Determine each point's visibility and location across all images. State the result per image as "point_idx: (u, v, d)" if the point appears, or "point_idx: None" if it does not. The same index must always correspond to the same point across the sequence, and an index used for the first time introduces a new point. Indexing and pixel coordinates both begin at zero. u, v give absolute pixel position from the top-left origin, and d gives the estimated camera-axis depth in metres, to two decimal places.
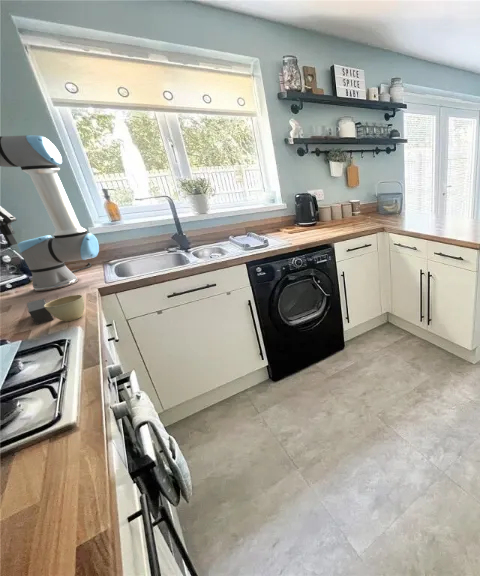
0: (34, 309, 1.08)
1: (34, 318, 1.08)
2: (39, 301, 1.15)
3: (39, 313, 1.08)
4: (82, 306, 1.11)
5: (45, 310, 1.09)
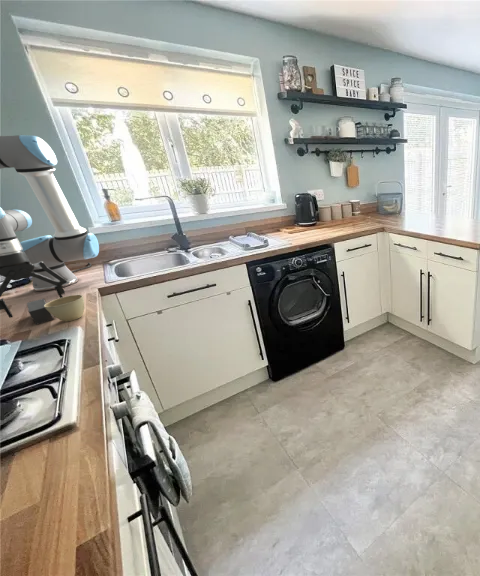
0: (34, 309, 1.08)
1: (34, 318, 1.08)
2: (39, 301, 1.15)
3: (39, 313, 1.08)
4: (82, 306, 1.11)
5: (45, 310, 1.09)
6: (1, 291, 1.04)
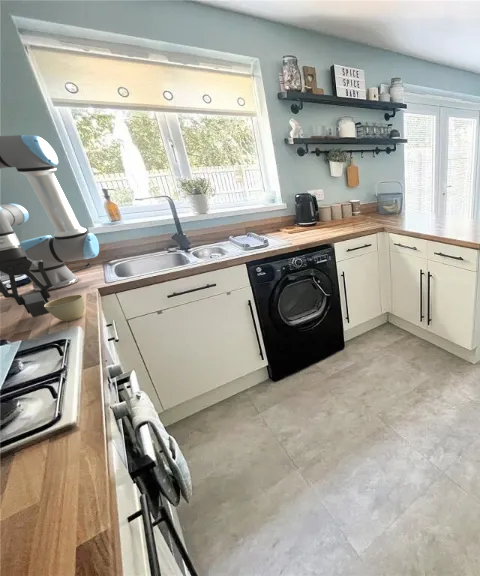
0: (31, 302, 1.07)
1: (31, 311, 1.07)
2: (36, 294, 1.14)
3: (36, 307, 1.08)
4: (82, 306, 1.11)
5: (42, 303, 1.09)
6: (14, 287, 1.07)
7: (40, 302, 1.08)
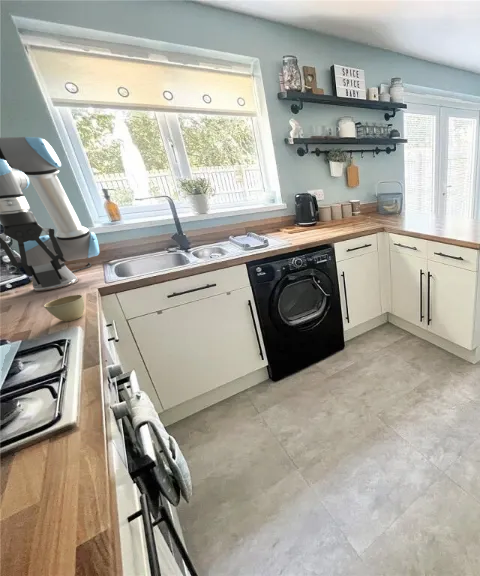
0: (41, 271, 1.00)
1: (41, 281, 0.99)
2: (46, 265, 1.07)
3: (46, 276, 1.00)
4: (82, 306, 1.11)
5: (52, 273, 1.01)
6: (23, 255, 0.99)
7: (51, 271, 1.01)
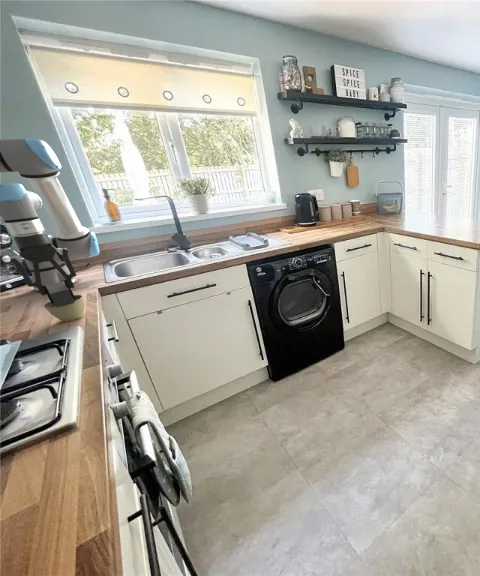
0: (55, 291, 1.02)
1: (55, 301, 1.02)
2: (59, 284, 1.09)
3: (60, 296, 1.02)
4: (82, 306, 1.11)
5: (66, 292, 1.03)
6: (38, 275, 1.02)
7: (64, 291, 1.03)
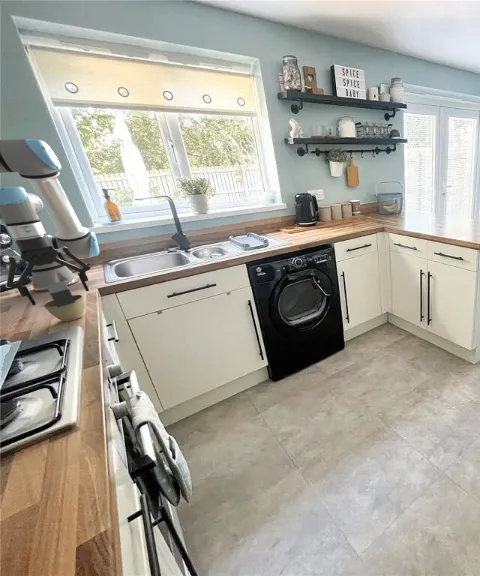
0: (55, 291, 1.02)
1: (55, 300, 1.02)
2: (59, 284, 1.09)
3: (61, 296, 1.02)
4: (82, 306, 1.11)
5: (67, 292, 1.03)
6: (24, 277, 0.99)
7: (65, 291, 1.03)
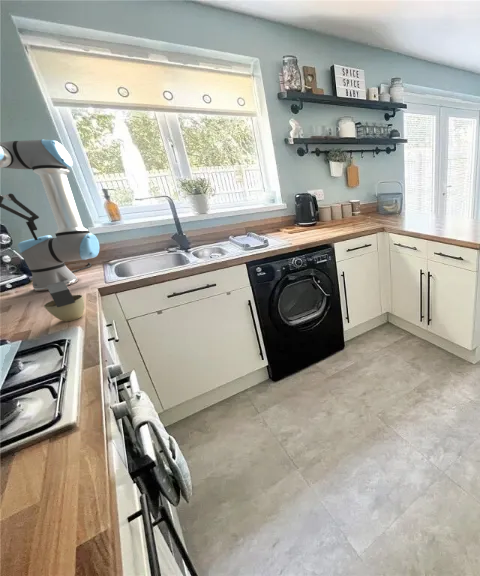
0: (55, 291, 1.02)
1: (56, 300, 1.02)
2: (59, 284, 1.09)
3: (61, 296, 1.02)
4: (82, 306, 1.11)
5: (67, 292, 1.03)
6: None
7: (65, 291, 1.03)
